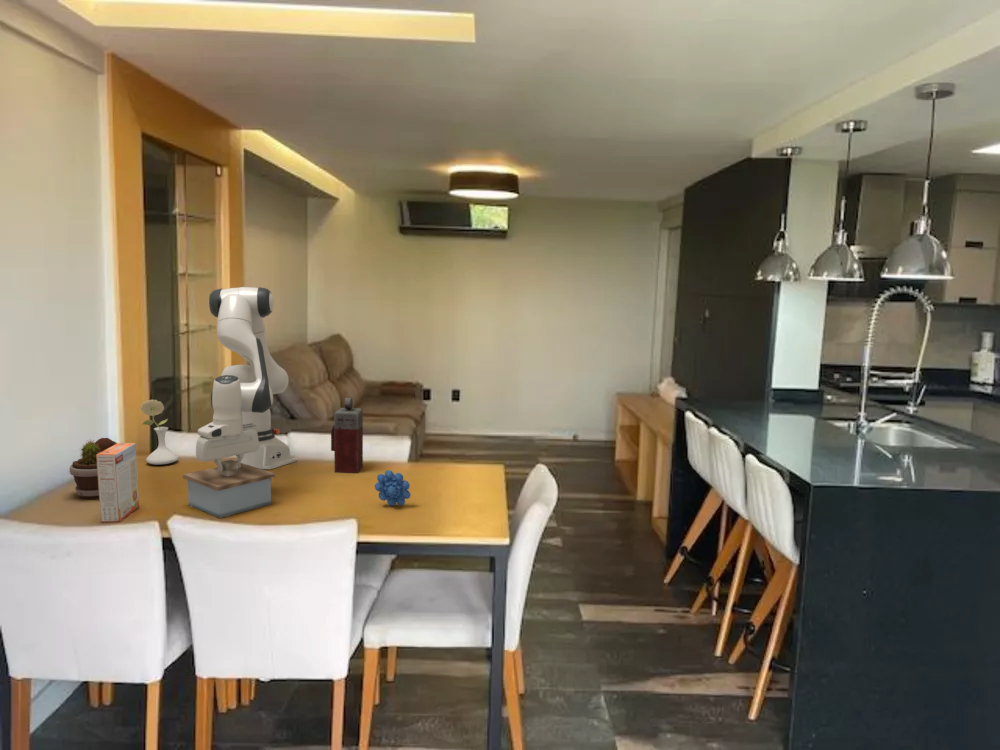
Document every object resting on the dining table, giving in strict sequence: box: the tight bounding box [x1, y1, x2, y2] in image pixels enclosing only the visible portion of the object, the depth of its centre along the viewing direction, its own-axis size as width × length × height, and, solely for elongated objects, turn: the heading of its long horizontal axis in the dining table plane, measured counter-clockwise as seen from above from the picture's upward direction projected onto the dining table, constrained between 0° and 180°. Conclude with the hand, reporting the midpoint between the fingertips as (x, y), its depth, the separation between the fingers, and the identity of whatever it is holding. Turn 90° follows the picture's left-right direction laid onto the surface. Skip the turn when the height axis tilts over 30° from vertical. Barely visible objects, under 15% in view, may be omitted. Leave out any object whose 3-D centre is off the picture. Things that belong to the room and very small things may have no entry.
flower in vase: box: [140, 399, 179, 466], centre depth 271 cm, size 13×11×25 cm
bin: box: [187, 478, 272, 519], centre depth 226 cm, size 18×18×9 cm
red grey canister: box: [330, 397, 364, 474], centre depth 268 cm, size 9×11×28 cm
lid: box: [182, 459, 276, 491], centre depth 225 cm, size 20×20×5 cm
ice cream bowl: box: [94, 437, 118, 453], centre depth 250 cm, size 11×11×15 cm
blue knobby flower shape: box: [374, 469, 411, 507], centre depth 228 cm, size 12×7×12 cm, turn 92°
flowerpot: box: [69, 439, 101, 500], centre depth 231 cm, size 14×15×20 cm
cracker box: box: [96, 442, 140, 523], centre depth 213 cm, size 14×6×21 cm, turn 5°
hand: (229, 469), depth 225 cm, fingers closed on lid, 4 cm apart
